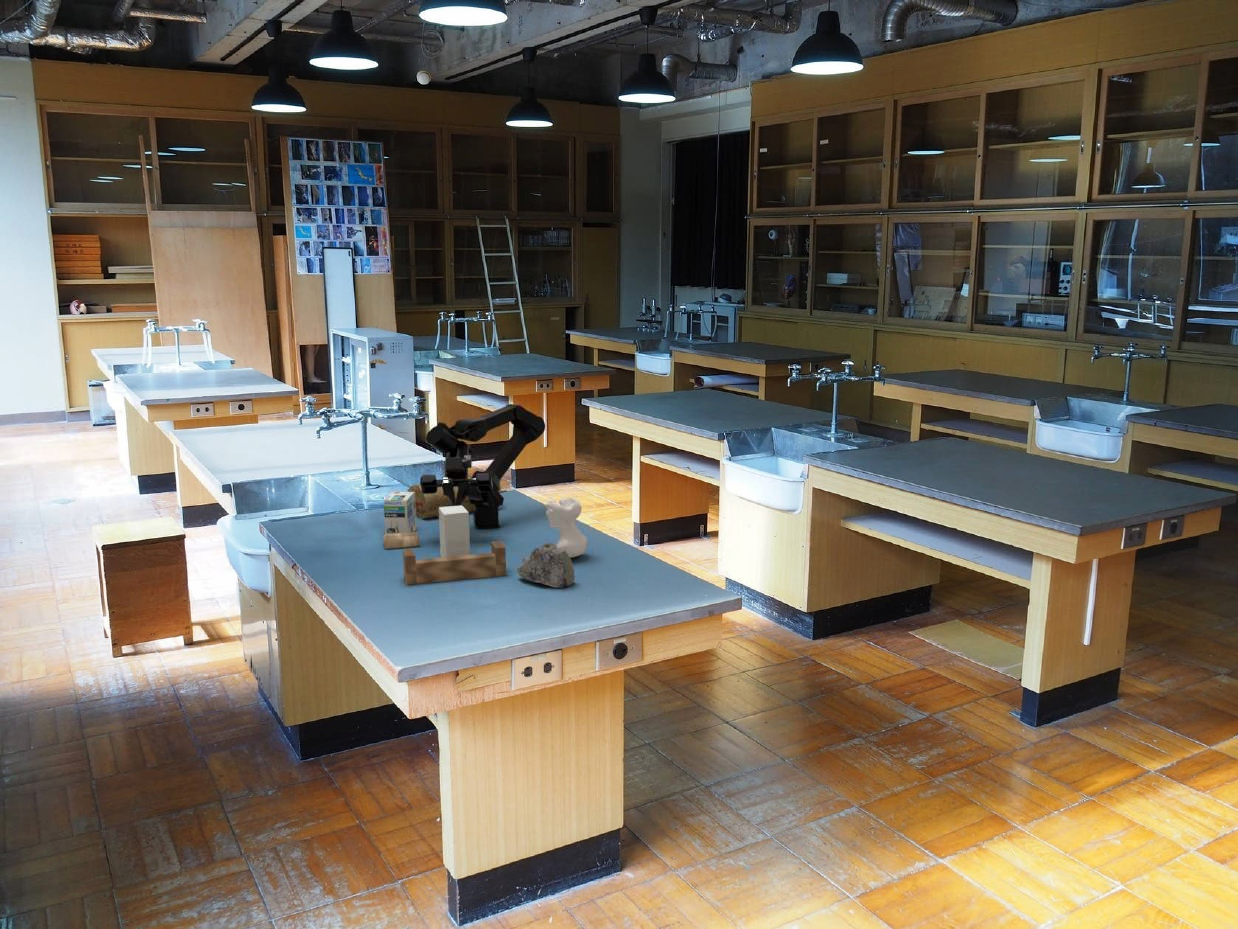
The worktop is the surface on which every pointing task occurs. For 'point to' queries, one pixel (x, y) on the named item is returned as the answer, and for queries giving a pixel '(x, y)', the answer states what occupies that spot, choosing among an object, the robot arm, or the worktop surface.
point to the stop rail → (454, 566)
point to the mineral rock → (548, 566)
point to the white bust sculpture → (567, 525)
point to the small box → (454, 531)
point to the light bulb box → (400, 513)
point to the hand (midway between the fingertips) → (455, 510)
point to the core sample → (435, 501)
